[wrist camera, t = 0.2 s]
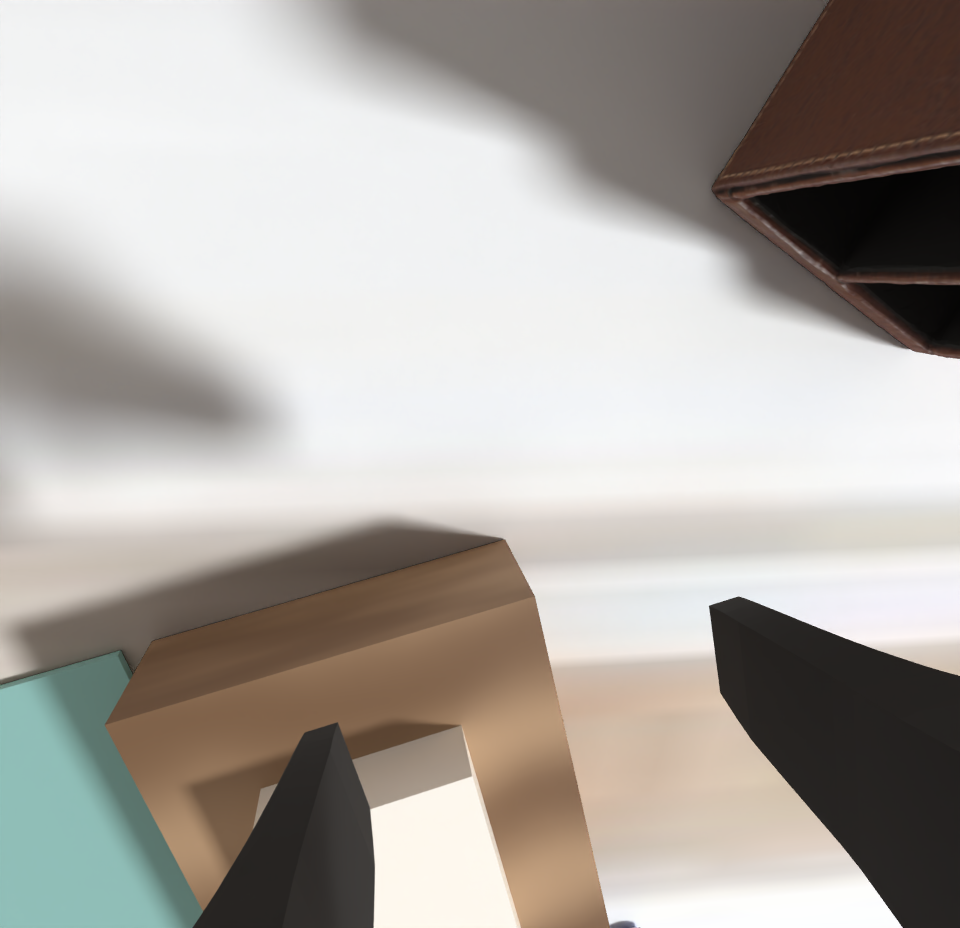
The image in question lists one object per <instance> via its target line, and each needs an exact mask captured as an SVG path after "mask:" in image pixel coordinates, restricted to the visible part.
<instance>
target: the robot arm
mask: <svg viewBox="0 0 960 928" xmlns="http://www.w3.org/2000/svg"><path fill="white" fill-rule="evenodd" d="M709 609H710V616H711V624H712V632H713V640H714V647H715V655H716V663H717V671H718V678H719V686H720V693H721V695H722V696H723V698H724V699H725V701H726V702H727V704H728V705H729V707H730V709H731V710H732V712H733V713H734V715H735V716H736V718H737V719H738V721H739V722H740V724H741V725H742V727H743V728H744V730H745V731H746V732H747V734H748V735H749V737H750V738H751V740H752V741H753V742H754V743H755V745H756V746H757V747H758V748H759V749H760V751H761V752H762V753H763V754H764V755H765V756H766V758H767V759H768V760H769V761H770V762H771V764H772V765H773V766H774V767H775V768H776V769H777V771H778V772H779V773H780V774H781V775H782V777H783V778H784V779H785V780H786V781H787V782H788V784H789V785H790V786H791V787H792V788H793V789H794V790H795V792H796V793H797V794H798V795H799V796H800V797H801V799H802V800H803V801H804V802H805V803H806V804H807V806H808V807H809V808H810V809H811V810H812V811H813V813H814V814H815V815H816V816H817V817H818V818H819V820H820V821H821V822H822V823H823V824H824V825H825V826H826V828H827V829H828V830H829V831H830V832H831V833H832V835H833V836H834V837H835V838H836V839H837V840H838V842H839V843H840V844H841V845H842V846H843V848H844V849H845V850H846V851H847V853H848V854H849V855H850V856H851V858H852V859H853V860H854V861H855V863H856V864H857V865H858V866H859V868H860V869H861V870H862V872H863V873H864V874H865V876H866V877H867V878H868V880H869V881H870V883H871V884H872V885H873V887H874V888H875V890H876V891H877V892H878V894H879V895H880V897H881V898H882V899H883V901H884V902H885V904H886V905H887V906H888V908H889V909H890V910H891V912H892V913H893V915H894V916H895V917H896V919H897V920H898V922H899V923H900V924H901V926H902V927H903V928H960V676H958V675H954V674H950V673H947V672H943V671H940V670H936V669H933V668H930V667H926V666H923V665H920V664H917V663H914V662H911V661H908V660H905V659H902V658H899V657H896V656H893V655H890V654H887V653H884V652H881V651H878V650H875V649H872V648H870V647H867V646H864V645H861V644H859V643H856V642H853V641H851V640H848V639H845V638H843V637H840V636H838V635H835V634H832V633H830V632H827V631H825V630H822V629H820V628H817V627H815V626H812V625H810V624H807V623H805V622H802V621H800V620H797V619H795V618H792V617H790V616H788V615H785V614H783V613H780V612H778V611H775V610H773V609H770V608H768V607H765V606H763V605H760V604H758V603H755V602H753V601H750V600H747V599H745V598H742V597H735V598H732V599H729V600H726V601H723V602H720V603H716V604H713V605H710V606H709ZM374 895H375V859H374V846H373V834H372V823H371V812H370V806H369V804H368V801H367V798H366V796H365V793H364V790H363V788H362V785H361V782H360V780H359V777H358V774H357V772H356V769H355V766H354V764H353V761H352V758H351V756H350V753H349V751H348V748H347V745H346V743H345V740H344V737H343V735H342V732H341V729H340V727H339V724H338V722H336V723H333V724H330V725H327V726H324V727H320V728H317V729H314V730H311V731H308V732H305V733H304V734H303V736H302V737H301V739H300V741H299V743H298V745H297V747H296V749H295V751H294V753H293V754H292V756H291V758H290V760H289V762H288V764H287V766H286V768H285V770H284V772H283V774H282V776H281V778H280V780H279V782H278V784H277V786H276V788H275V790H274V792H273V794H272V796H271V797H270V799H269V801H268V803H267V805H266V807H265V808H264V810H263V812H262V814H261V816H260V818H259V819H258V821H257V823H256V825H255V827H254V829H253V830H252V832H251V834H250V836H249V838H248V839H247V841H246V843H245V845H244V846H243V848H242V850H241V851H240V853H239V855H238V856H237V858H236V860H235V861H234V863H233V865H232V866H231V868H230V870H229V871H228V873H227V875H226V876H225V878H224V879H223V881H222V883H221V884H220V886H219V888H218V889H217V891H216V893H215V894H214V896H213V897H212V899H211V900H210V902H209V903H208V905H207V907H206V908H205V910H204V911H203V913H202V914H201V916H200V917H199V919H198V920H197V922H196V923H195V925H194V926H193V927H192V928H374ZM632 928H639V927H632Z"/></svg>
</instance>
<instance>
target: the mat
mask: <svg viewBox="0 0 960 928" xmlns="http://www.w3.org/2000/svg"><path fill="white" fill-rule="evenodd" d="M132 676H133V674H132V672H131V670H130V668H129V666H128V664H127V662H126V660H125V658H124V656H123V654H122V652H121V650H120V651H117V652H113V653H110V654H106V655H103V656H99V657H96V658H93V659H89V660H86V661H82V662H79V663H75V664H72V665H68V666H65V667H61V668H58V669H54V670H51V671H48V672H44V673H41V674H37V675H34V676H30V677H27V678H23V679H20V680H16V681H13V682H9V683H6V684H3V685H0V928H192V927H193V926H194V925H195V923H196V922H197V920H198V919H199V917H200V916H201V914H202V913H203V910H202V909H201V907H200V905H199V903H198V901H197V899H196V897H195V895H194V893H193V892H192V890H191V888H190V886H189V884H188V882H187V880H186V878H185V876H184V874H183V873H182V871H181V869H180V867H179V865H178V863H177V861H176V859H175V857H174V856H173V854H172V852H171V850H170V848H169V846H168V844H167V842H166V840H165V839H164V837H163V835H162V833H161V831H160V829H159V827H158V825H157V823H156V822H155V820H154V818H153V816H152V814H151V812H150V810H149V808H148V806H147V805H146V803H145V801H144V799H143V797H142V795H141V793H140V791H139V789H138V788H137V786H136V784H135V782H134V780H133V778H132V776H131V774H130V772H129V770H128V769H127V767H126V765H125V763H124V761H123V759H122V757H121V755H120V753H119V752H118V750H117V748H116V746H115V744H114V742H113V740H112V738H111V736H110V735H109V733H108V731H107V729H106V727H105V723H106V722H107V720H108V718H109V716H110V715H111V713H112V711H113V709H114V707H115V706H116V704H117V702H118V700H119V699H120V697H121V695H122V693H123V692H124V690H125V688H126V686H127V684H128V683H129V681H130V679H131V677H132Z"/></svg>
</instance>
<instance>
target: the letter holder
mask: <svg viewBox="0 0 960 928" xmlns="http://www.w3.org/2000/svg"><path fill="white" fill-rule="evenodd" d="M712 191H713V193H714V194H715V195H716V197H717V198H718V199H720V200H721V201H722V203H724V204H725V205H727V206H728V207H729V208H731V209H732V210H733V211H734V212H735V213H737V214H738V215H739V216H740V217H741V218H743V219H744V220H745V221H746V222H748V223H749V224H750V225H751V226H753V227H754V228H755V229H756V230H758V231H759V232H760V233H761V234H763V235H765V236H766V237H767V238H768V239H769V240H770V241H771V242H773V243H774V244H775V245H776V246H778V247H779V248H781V249H782V250H783V251H785V252H786V253H787V254H788V255H790V256H791V257H792V258H793V259H794V260H796V261H797V262H798V263H799V264H801V265H802V266H804V267H805V268H806V269H807V270H808V271H810V272H811V273H812V274H813V275H815V276H816V277H817V278H819V279H820V280H822V281H823V282H825V283H826V285H827V286H828V287H830V288H831V289H832V290H833V291H835V292H836V293H837V294H838V295H839V296H841V297H843V298H844V299H845V300H846V301H848V302H849V303H850V304H852V305H853V306H855V307H856V308H857V309H858V310H859V311H861V312H862V313H863V314H864V315H866V316H867V317H868V318H870V319H871V320H872V321H873V322H874V323H875V324H876V325H877V326H879V327H881V328H883V329H884V330H886V332H888V333H889V334H891V335H892V336H893V337H894V338H895V339H897V340H898V341H900V342H901V343H902V344H904V345H905V346H907V347H908V348H909V349H911V350H912V351H915V352H920V353H926V354H931V355H938V356H943V357H946V358H957V359H960V0H830V1H829V2H828V4H827V6H826V7H825V9H824V10H823V12H822V14H821V15H820V17H819V18H818V20H817V21H816V23H815V25H814V26H813V28H812V29H811V31H810V33H809V34H808V36H807V37H806V39H805V41H804V42H803V44H802V45H801V47H800V49H799V50H798V52H797V53H796V55H795V57H794V58H793V60H792V61H791V63H790V65H789V66H788V68H787V69H786V71H785V73H784V74H783V76H782V77H781V79H780V81H779V82H778V84H777V85H776V87H775V89H774V90H773V92H772V93H771V95H770V97H769V98H768V100H767V102H766V103H765V105H764V106H763V108H762V110H761V111H760V113H759V114H758V116H757V118H756V119H755V121H754V122H753V124H752V126H751V127H750V129H749V131H748V132H747V134H746V135H745V137H744V138H743V140H742V141H741V143H740V145H739V146H738V148H737V149H736V150H735V152H734V153H733V155H732V157H731V158H730V160H729V162H728V163H727V165H726V166H725V168H724V169H723V170H722V172H721V174H720V175H719V177H718V178H717V180H716V181H715V183H714V185H713V186H712Z"/></svg>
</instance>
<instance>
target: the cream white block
mask: <svg viewBox="0 0 960 928" xmlns="http://www.w3.org/2000/svg"><path fill="white" fill-rule="evenodd" d="M352 761H353V764H354V766H355V769H356V772H357V774H358V777H359V780H360V782H361V785H362V788H363V790H364V793H365V796H366V798H367V801H368V804H369V806H370V812H371V823H372V834H373V846H374V859H375V895H374V928H521V926H520V923H519V920H518V916H517V913H516V909H515V906H514V903H513V899H512V896H511V892H510V889H509V886H508V882H507V879H506V875H505V872H504V869H503V865H502V862H501V858H500V855H499V852H498V848H497V845H496V841H495V838H494V835H493V831H492V828H491V824H490V821H489V818H488V814H487V811H486V807H485V804H484V801H483V797H482V794H481V790H480V787H479V784H478V780H477V777H476V773H475V770H474V767H473V763H472V760H471V756H470V753H469V750H468V746H467V743H466V739H465V736H464V733H463V729H462V726H458V727H454V728H451V729H448V730H445V731H442V732H439V733H436V734H432V735H429V736H426V737H423V738H420V739H417V740H413V741H410V742H407V743H404V744H401V745H398V746H394V747H391V748H388V749H385V750H382V751H379V752H375V753H372V754H369V755H366V756H363V757H360V758H356V759H353V760H352ZM277 784H278V783H277ZM277 784H274V785H271V786H268V787H265V788H262V789H261V790H260V796H259V801H258V806H257V811H256V816H255V821H254V826H253V829H254V827H255V825H256V823H257V821H258V819H259V818H260V816H261V814H262V812H263V810H264V808H265V807H266V805H267V803H268V801H269V799H270V797H271V796H272V794H273V792H274V790H275V788H276V786H277Z"/></svg>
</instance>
